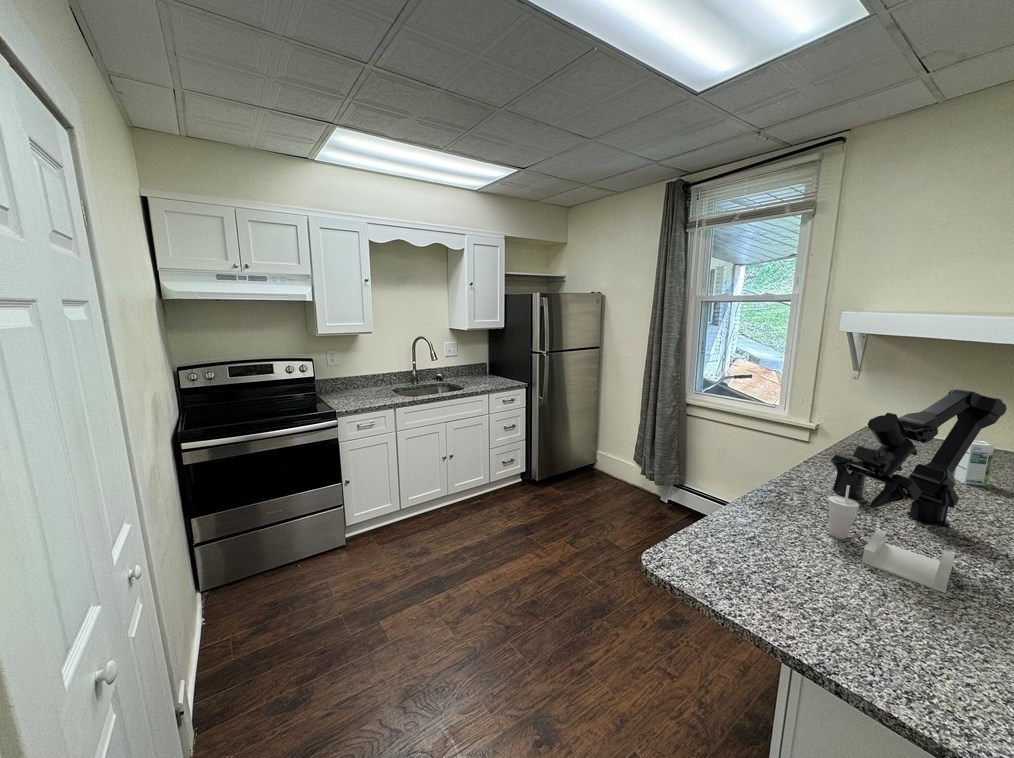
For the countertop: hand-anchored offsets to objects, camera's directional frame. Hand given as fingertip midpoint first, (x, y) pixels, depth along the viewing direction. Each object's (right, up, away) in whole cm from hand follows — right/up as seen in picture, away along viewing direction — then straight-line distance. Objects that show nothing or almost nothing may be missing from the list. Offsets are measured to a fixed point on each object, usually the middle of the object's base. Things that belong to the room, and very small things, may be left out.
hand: (851, 498), depth 107 cm
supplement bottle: (+20, -6, +25) cm, 32 cm away
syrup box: (+70, -4, +35) cm, 79 cm away
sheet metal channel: (+3, -12, -12) cm, 17 cm away
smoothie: (-3, -10, +1) cm, 11 cm away
